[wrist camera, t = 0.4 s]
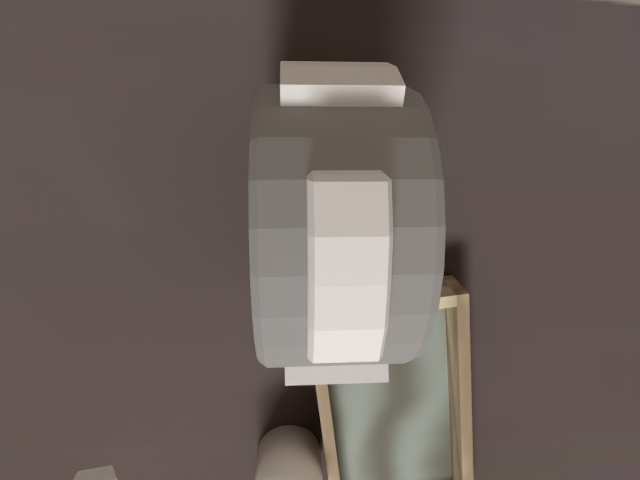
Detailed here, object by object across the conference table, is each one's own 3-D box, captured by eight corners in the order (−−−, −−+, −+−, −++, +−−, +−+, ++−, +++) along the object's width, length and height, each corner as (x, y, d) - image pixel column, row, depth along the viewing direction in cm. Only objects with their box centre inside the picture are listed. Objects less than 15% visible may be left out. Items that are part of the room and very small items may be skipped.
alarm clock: (264, 70, 35) (237, 42, 16) (377, 71, 36) (481, 46, 17) (270, 292, 41) (254, 472, 21) (368, 290, 41) (439, 464, 22)
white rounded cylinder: (262, 480, 46) (258, 545, 40) (253, 429, 45) (247, 488, 38) (323, 471, 47) (329, 534, 40) (316, 420, 45) (321, 478, 38)
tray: (333, 510, 48) (337, 546, 44) (304, 294, 41) (305, 315, 37) (459, 492, 48) (474, 526, 45) (452, 274, 41) (469, 293, 37)
